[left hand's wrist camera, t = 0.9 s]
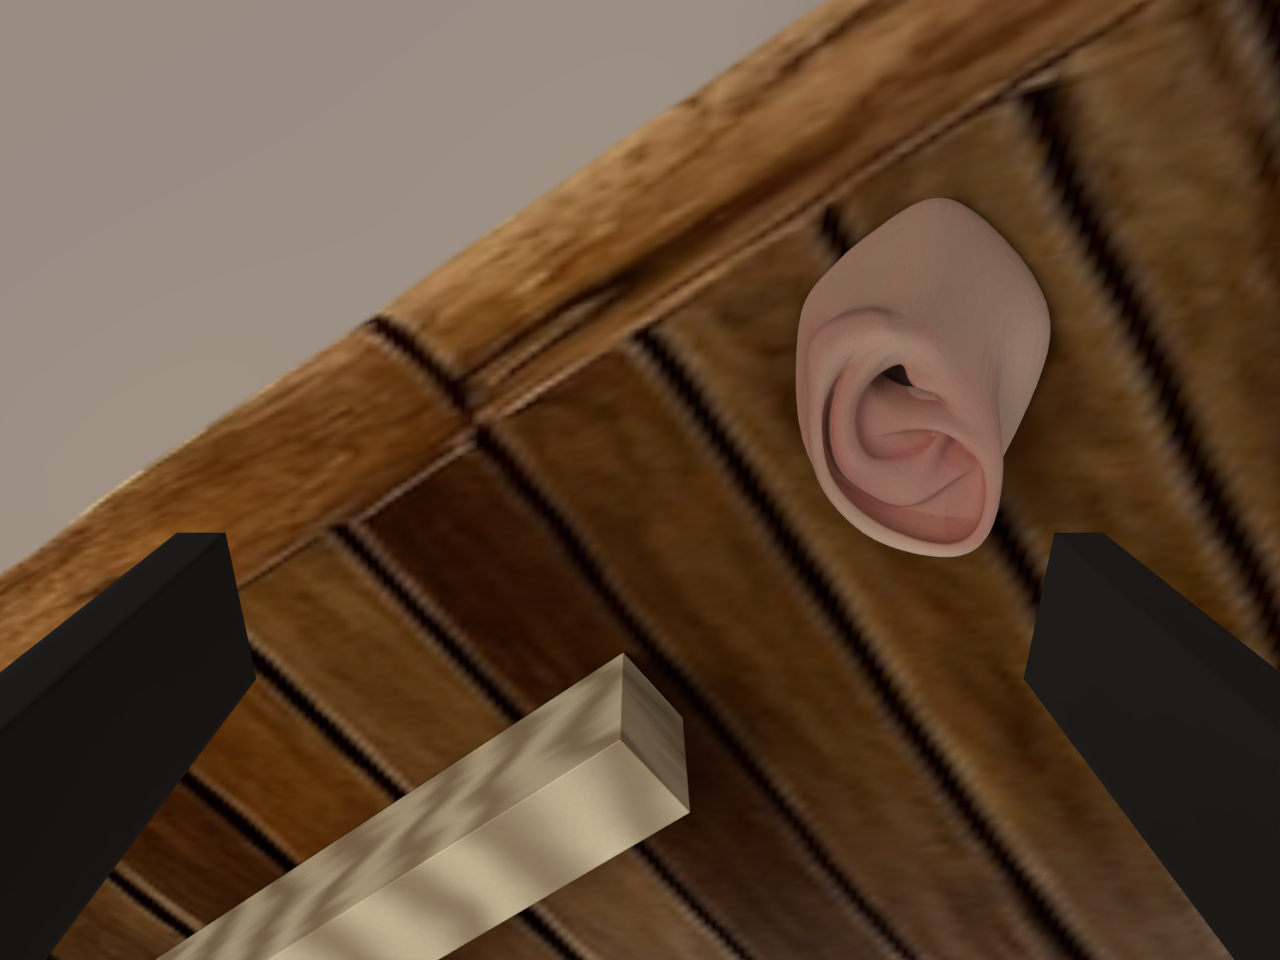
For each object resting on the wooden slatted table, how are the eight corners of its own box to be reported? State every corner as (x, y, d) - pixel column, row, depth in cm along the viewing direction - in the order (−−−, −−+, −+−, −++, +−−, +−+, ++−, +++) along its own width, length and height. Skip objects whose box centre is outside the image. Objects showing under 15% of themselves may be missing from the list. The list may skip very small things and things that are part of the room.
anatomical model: (913, 159, 27) (1178, 304, 29) (880, 160, 31) (1118, 289, 33) (732, 482, 32) (972, 591, 34) (722, 449, 35) (939, 549, 37)
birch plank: (623, 652, 40) (620, 739, 34) (682, 717, 41) (690, 812, 35) (148, 963, 48) (77, 1079, 42) (212, 1008, 49) (152, 1127, 43)
